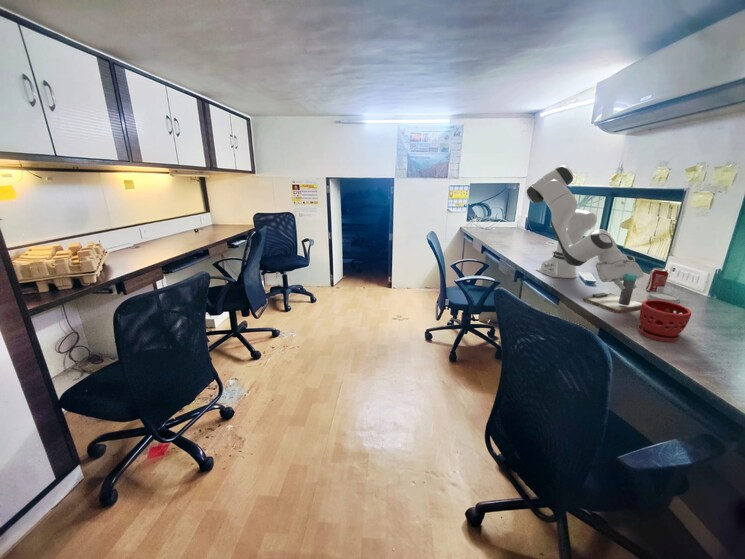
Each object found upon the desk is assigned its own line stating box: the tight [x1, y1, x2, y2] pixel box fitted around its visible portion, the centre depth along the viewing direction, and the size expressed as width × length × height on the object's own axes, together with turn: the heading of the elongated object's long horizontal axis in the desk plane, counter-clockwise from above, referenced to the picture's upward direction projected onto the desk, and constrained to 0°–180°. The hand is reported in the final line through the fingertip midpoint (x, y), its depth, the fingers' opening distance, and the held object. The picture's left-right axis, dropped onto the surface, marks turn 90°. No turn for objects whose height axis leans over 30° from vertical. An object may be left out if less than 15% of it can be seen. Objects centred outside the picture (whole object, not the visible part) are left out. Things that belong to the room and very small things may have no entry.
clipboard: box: [582, 292, 643, 314], centre depth 144 cm, size 16×19×2 cm
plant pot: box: [636, 299, 692, 343], centre depth 112 cm, size 13×13×12 cm
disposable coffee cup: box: [646, 292, 680, 312], centre depth 122 cm, size 10×10×12 cm
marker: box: [618, 273, 637, 305], centre depth 136 cm, size 4×4×13 cm
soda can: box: [645, 267, 669, 293], centre depth 158 cm, size 7×7×12 cm
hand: (628, 288), depth 135 cm, fingers closed on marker, 4 cm apart
